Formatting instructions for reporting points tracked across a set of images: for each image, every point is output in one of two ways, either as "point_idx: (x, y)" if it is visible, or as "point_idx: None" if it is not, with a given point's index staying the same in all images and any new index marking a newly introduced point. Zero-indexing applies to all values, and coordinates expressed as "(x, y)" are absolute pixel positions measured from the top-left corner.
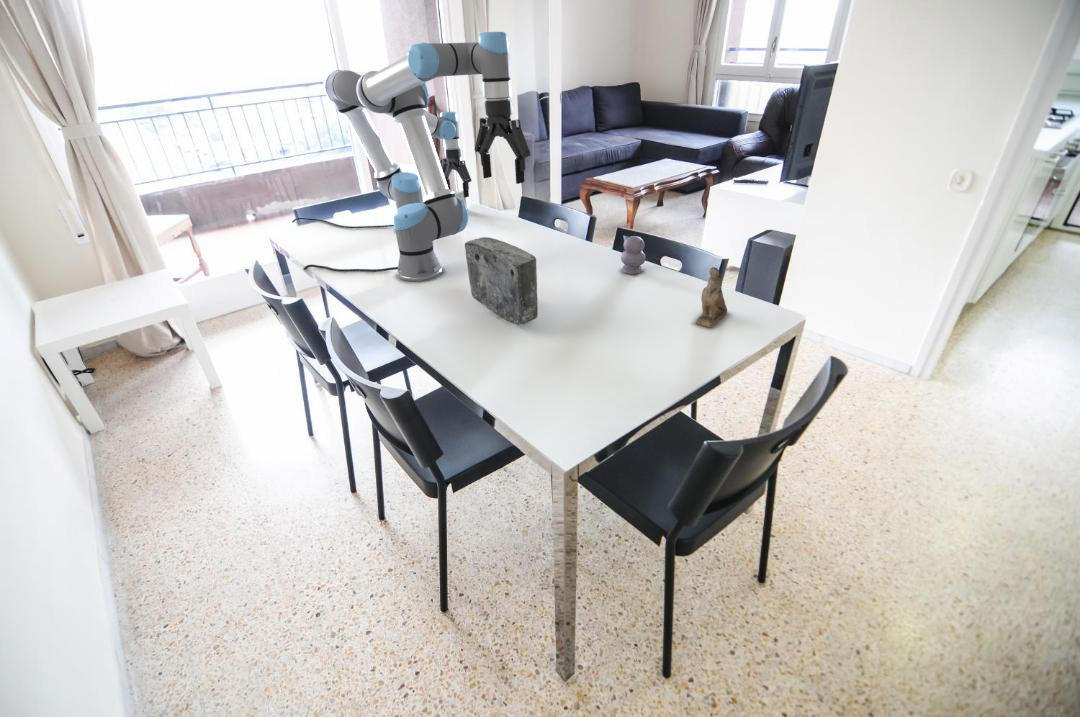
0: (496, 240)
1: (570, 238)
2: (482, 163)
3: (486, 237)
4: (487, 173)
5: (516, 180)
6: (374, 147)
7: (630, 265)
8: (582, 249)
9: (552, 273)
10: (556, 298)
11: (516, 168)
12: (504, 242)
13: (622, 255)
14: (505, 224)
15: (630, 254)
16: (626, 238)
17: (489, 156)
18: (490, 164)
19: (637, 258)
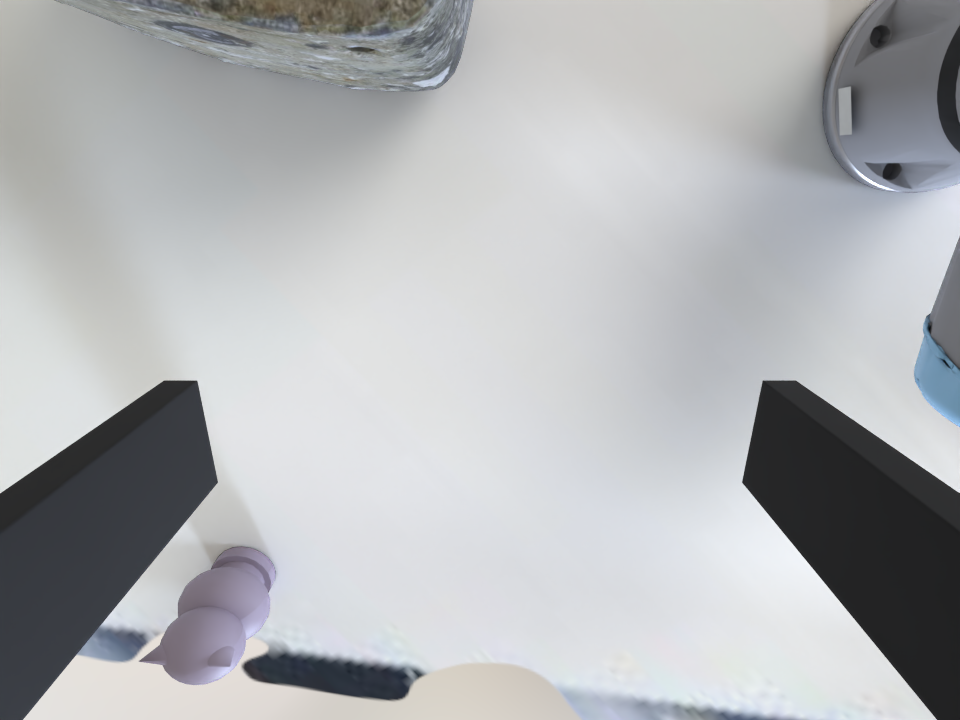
0: (291, 6)
1: (604, 677)
2: (943, 488)
3: (402, 13)
4: (781, 449)
5: (164, 395)
6: None
7: (215, 568)
8: (502, 625)
9: (437, 418)
10: (264, 258)
11: (32, 486)
12: (209, 5)
13: (242, 592)
14: None
15: (203, 600)
16: (215, 656)
17: (940, 706)
18: (835, 590)
19: (182, 595)
